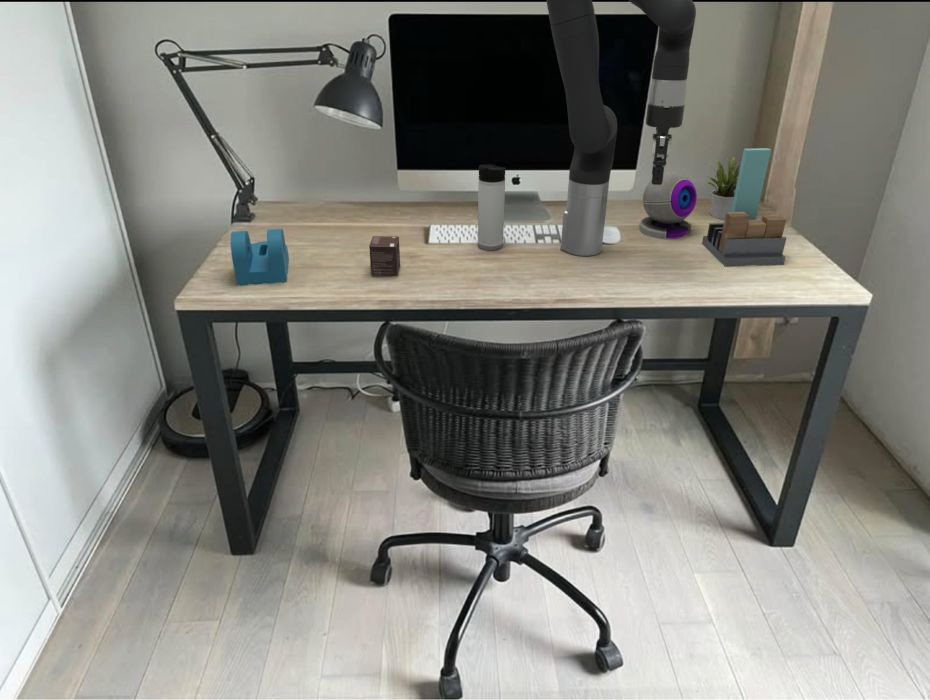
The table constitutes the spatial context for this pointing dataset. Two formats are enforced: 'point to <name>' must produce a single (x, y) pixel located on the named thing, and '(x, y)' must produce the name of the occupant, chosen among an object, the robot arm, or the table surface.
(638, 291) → the table surface
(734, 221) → the offcut stack
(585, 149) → the robot arm
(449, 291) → the table surface
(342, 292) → the table surface
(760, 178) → the tall sheet
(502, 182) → the travel mug
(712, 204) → the house plant
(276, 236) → the camera mount
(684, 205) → the webcam
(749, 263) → the rack
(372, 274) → the box
